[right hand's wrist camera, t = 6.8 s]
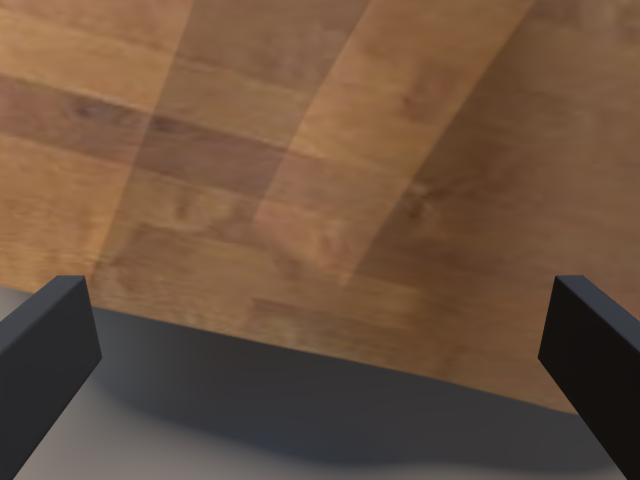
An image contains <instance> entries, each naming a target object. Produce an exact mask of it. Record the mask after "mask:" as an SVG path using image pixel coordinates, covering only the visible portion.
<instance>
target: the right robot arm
mask: <svg viewBox="0 0 640 480" xmlns="http://www.w3.org/2000/svg"><path fill="white" fill-rule="evenodd" d="M101 359H102V354H101V350H100V345H99V340H98V336H97V331H96V327H95V322H94V317H93V312H92V308H91V303H90V298H89V294H88V289H87V285H86V280H85V276H56V277H55V278H54V279H52V280H51V281H50V282H49V283H47V284H46V285H45V286H44V287H43V288H41V289H40V290H39V291H38V292H36V293H35V294H34V295H33V296H31V297H30V298H29V299H28V300H27V301H25V302H24V303H23V304H22V305H20V306H19V307H18V308H17V309H15V310H14V311H13V312H12V313H11V314H9V315H8V316H7V317H6V318H4V319H3V320H2V321H1V322H0V480H13V479H14V477H15V476H16V475H17V473H18V472H19V470H20V469H21V468H22V466H23V465H24V464H25V462H26V461H27V460H28V458H29V457H30V456H31V454H32V453H33V451H34V450H35V449H36V447H37V446H38V445H39V443H40V442H41V441H42V439H43V438H44V436H45V435H46V434H47V432H48V431H49V430H50V428H51V427H52V426H53V424H54V423H55V422H56V420H57V419H58V417H59V416H60V415H61V413H62V412H63V411H64V409H65V408H66V407H67V405H68V404H69V403H70V401H71V400H72V398H73V397H74V396H75V394H76V393H77V392H78V390H79V389H80V388H81V386H82V385H83V383H84V382H85V381H86V379H87V378H88V377H89V375H90V374H91V373H92V371H93V370H94V369H95V367H96V366H97V364H98V363H99V362H100V360H101ZM538 359H539V360H540V362H541V363H542V365H543V366H544V367H545V369H546V370H547V371H548V373H549V374H550V375H551V377H552V378H553V379H554V381H555V382H556V384H557V385H558V386H559V388H560V389H561V390H562V392H563V393H564V394H565V396H566V397H567V398H568V400H569V401H570V403H571V404H572V405H573V407H574V408H575V409H576V411H577V412H578V413H579V415H580V416H581V418H582V419H583V420H584V422H585V423H586V424H587V426H588V427H589V428H590V430H591V431H592V432H593V434H594V435H595V437H596V438H597V439H598V441H599V442H600V443H601V445H602V446H603V447H604V449H605V450H606V451H607V453H608V454H609V456H610V457H611V458H612V460H613V461H614V462H615V464H616V465H617V466H618V468H619V469H620V471H621V472H622V473H623V475H624V476H625V477H626V479H627V480H640V322H639V321H638V320H637V319H636V318H634V317H633V316H632V315H631V314H629V313H628V312H627V311H626V310H625V309H623V308H622V307H621V306H620V305H618V304H617V303H616V302H615V301H613V300H612V299H611V298H610V297H609V296H607V295H606V294H605V293H604V292H602V291H601V290H600V289H599V288H597V287H596V286H595V285H594V284H593V283H591V282H590V281H589V280H588V279H586V278H585V277H584V276H555V280H554V285H553V289H552V294H551V298H550V303H549V308H548V312H547V317H546V322H545V326H544V331H543V336H542V340H541V345H540V350H539V354H538Z"/></svg>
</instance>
